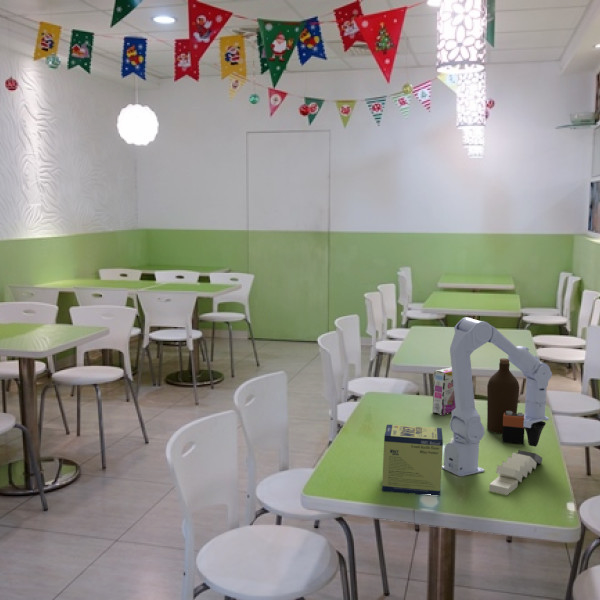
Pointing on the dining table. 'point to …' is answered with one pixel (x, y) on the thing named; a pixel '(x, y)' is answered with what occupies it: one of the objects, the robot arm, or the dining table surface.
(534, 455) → the domino
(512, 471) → the domino
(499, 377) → the olive oil
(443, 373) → the candy bar box
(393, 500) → the dining table surface
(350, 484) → the dining table surface
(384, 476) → the protein box
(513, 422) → the battery
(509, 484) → the domino
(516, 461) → the domino
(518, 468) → the domino
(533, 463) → the domino
